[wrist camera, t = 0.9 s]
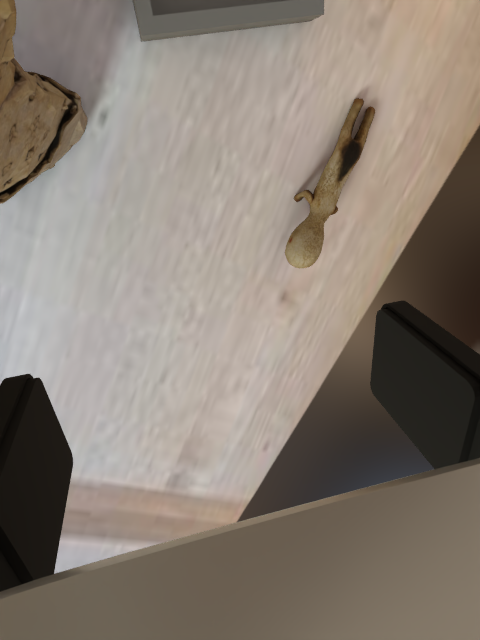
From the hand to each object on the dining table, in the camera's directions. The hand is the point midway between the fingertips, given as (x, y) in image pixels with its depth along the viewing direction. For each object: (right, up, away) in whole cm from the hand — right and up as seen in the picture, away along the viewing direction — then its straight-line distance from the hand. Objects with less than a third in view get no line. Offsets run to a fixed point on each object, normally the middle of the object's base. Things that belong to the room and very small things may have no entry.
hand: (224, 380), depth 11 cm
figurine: (+8, +14, +26) cm, 31 cm away
